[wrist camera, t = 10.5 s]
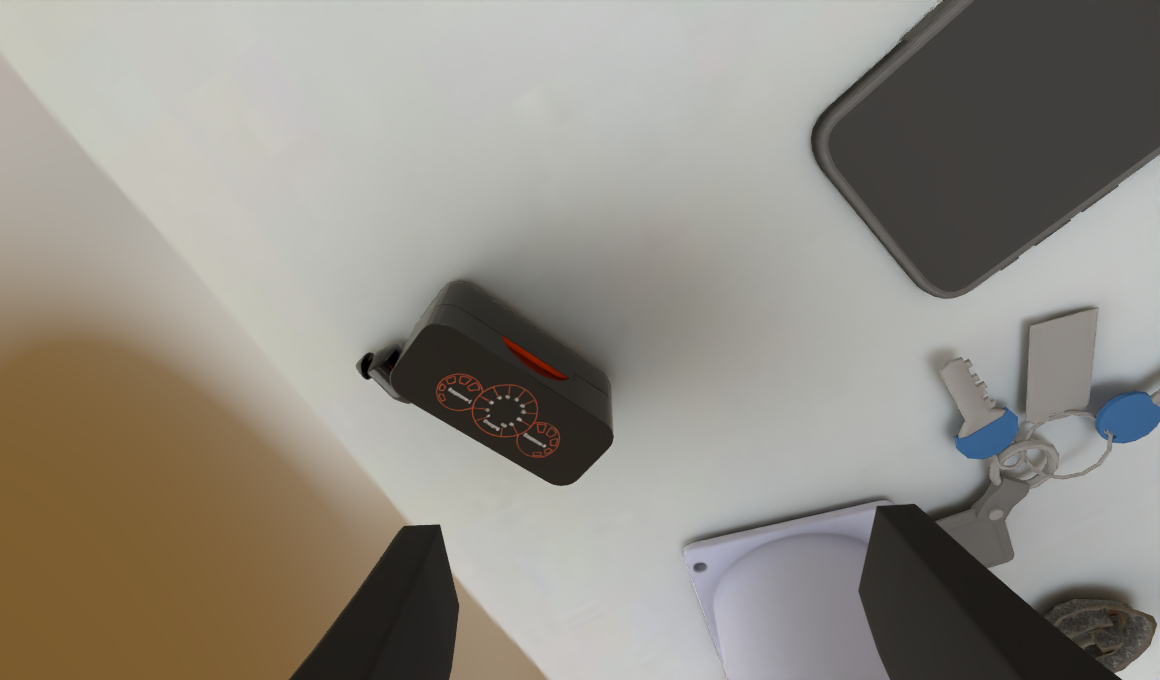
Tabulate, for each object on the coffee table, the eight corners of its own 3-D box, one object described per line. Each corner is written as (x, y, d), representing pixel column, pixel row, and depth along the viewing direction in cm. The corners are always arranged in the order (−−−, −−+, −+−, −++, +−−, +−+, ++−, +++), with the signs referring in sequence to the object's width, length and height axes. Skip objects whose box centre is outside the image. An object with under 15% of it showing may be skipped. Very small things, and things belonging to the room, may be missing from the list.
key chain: (962, 589, 26) (973, 606, 25) (789, 523, 24) (796, 539, 24) (1276, 305, 20) (1303, 317, 19) (1072, 192, 18) (1093, 200, 17)
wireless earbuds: (432, 251, 19) (405, 297, 16) (618, 374, 21) (622, 434, 18) (360, 357, 21) (324, 414, 18) (537, 461, 23) (530, 527, 20)
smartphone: (1541, -112, 14) (944, 317, 19) (1490, -107, 15) (930, 304, 20) (1452, -449, 12) (797, 140, 17) (1396, -420, 13) (787, 134, 18)
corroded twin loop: (1154, 632, 27) (1174, 655, 26) (968, 701, 29) (980, 724, 28) (1118, 565, 25) (1138, 587, 24) (922, 645, 28) (933, 667, 27)
